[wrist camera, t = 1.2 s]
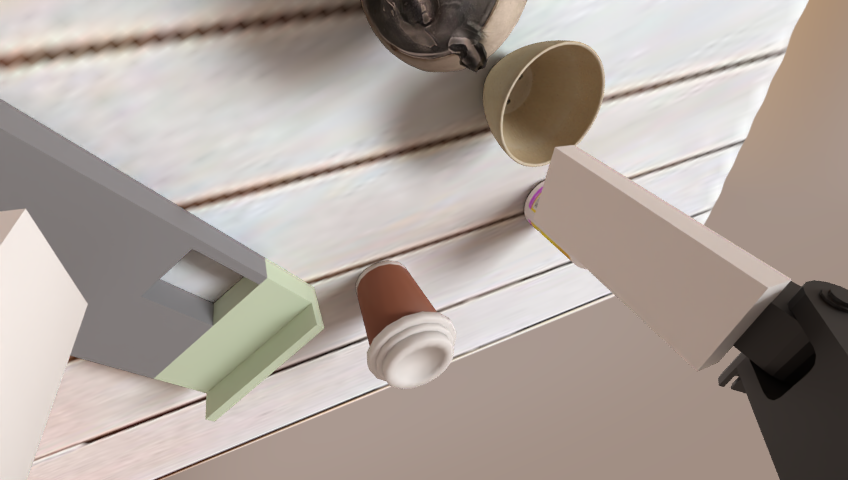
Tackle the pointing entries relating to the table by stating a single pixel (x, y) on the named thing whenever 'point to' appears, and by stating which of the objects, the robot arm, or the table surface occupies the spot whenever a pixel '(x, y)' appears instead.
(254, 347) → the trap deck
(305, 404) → the table surface
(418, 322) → the coffee cup
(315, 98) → the table surface
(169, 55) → the table surface
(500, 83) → the flower pot
